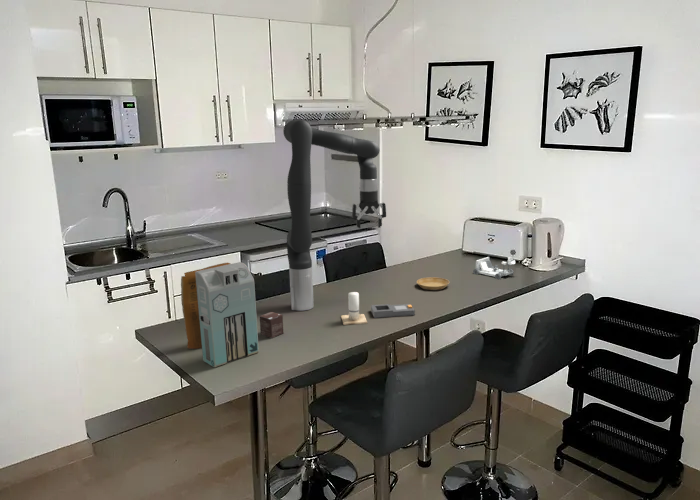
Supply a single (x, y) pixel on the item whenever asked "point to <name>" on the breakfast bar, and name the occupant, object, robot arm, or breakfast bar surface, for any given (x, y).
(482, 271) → the white wheeled toy
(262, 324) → the box
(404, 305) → the grey charging base
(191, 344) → the pancake mix bag
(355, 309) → the plug
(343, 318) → the cork coaster
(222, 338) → the device
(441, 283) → the plant saucer
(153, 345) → the breakfast bar surface
